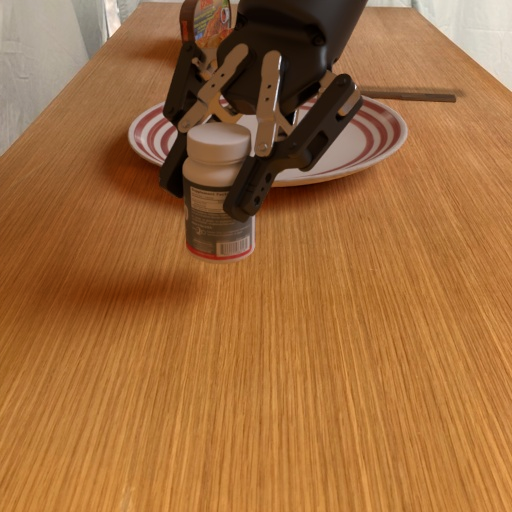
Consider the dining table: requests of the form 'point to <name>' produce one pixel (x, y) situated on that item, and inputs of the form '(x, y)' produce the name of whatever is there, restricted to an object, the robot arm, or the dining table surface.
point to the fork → (410, 96)
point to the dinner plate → (338, 154)
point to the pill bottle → (215, 193)
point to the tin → (204, 18)
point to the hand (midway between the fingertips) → (201, 203)
